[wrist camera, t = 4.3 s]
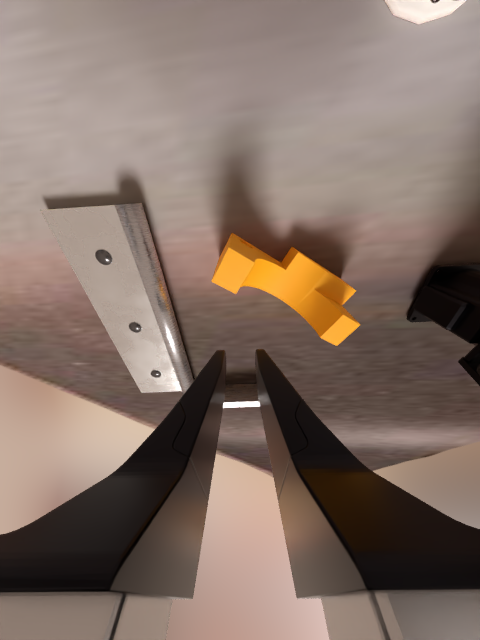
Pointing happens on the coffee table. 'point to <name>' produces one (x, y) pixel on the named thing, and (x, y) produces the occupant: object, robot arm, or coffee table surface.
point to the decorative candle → (422, 9)
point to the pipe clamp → (290, 285)
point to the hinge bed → (131, 294)
